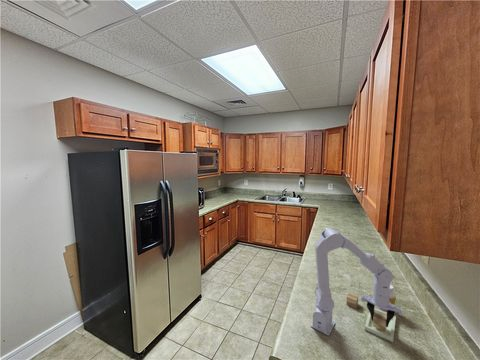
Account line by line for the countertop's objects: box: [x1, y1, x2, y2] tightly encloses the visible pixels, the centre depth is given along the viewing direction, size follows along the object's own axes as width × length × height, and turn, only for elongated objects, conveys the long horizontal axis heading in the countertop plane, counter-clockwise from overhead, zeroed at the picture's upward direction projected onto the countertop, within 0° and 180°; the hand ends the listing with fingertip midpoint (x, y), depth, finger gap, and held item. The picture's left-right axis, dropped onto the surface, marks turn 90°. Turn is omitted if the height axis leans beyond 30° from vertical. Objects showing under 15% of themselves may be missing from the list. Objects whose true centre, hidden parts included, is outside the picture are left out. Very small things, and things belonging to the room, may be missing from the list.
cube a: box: [373, 311, 387, 331], centre depth 89 cm, size 4×4×4 cm
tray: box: [364, 307, 397, 344], centre depth 92 cm, size 16×10×2 cm, turn 139°
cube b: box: [346, 292, 359, 309], centre depth 106 cm, size 4×4×4 cm
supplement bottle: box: [378, 284, 397, 313], centre depth 101 cm, size 7×7×13 cm
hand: (379, 322), depth 89 cm, fingers closed on cube a, 4 cm apart
